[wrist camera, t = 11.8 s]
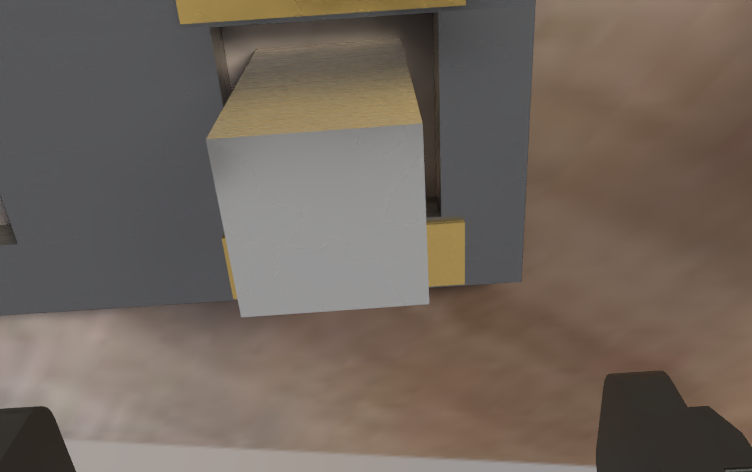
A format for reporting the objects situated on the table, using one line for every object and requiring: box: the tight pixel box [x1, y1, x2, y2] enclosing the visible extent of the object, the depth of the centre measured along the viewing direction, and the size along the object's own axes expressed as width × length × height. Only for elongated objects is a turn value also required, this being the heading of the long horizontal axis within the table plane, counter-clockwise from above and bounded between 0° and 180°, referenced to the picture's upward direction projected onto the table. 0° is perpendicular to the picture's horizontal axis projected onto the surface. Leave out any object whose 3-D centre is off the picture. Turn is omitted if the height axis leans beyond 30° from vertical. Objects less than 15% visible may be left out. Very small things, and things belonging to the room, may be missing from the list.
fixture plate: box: [0, 0, 536, 315], centre depth 21 cm, size 26×12×2 cm, turn 93°
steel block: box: [206, 38, 429, 317], centre depth 19 cm, size 4×4×8 cm
